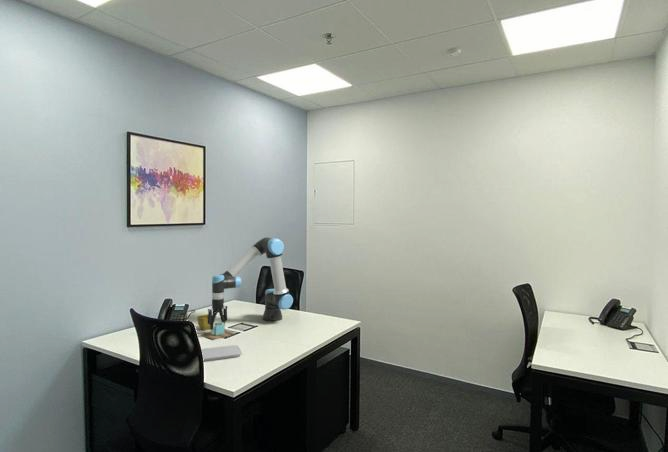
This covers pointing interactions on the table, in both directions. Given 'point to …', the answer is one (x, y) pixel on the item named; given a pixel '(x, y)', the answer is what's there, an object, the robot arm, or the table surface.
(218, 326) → the light blue cube
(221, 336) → the post stand
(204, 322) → the flower pot
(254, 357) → the table surface
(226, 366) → the table surface
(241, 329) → the table surface
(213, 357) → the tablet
